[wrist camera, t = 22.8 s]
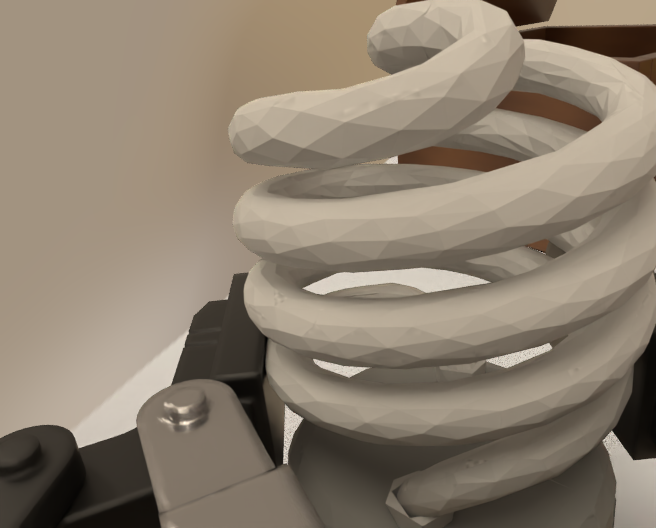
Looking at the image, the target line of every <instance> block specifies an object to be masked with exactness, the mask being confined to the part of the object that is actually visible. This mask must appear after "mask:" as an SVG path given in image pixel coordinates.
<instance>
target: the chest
mask: <svg viewBox="0 0 656 528" xmlns="http://www.w3.org/2000/svg"><path fill="white" fill-rule="evenodd" d="M519 33H520V35H521V37H522V38H523V39H538V40H545V41H549V42H554V43H559V44H564V45H568V46H573V47H577V48H580V49H583V50H587V51H590V52H593V53H597V54H600V55H604V56H607V57H610V58H613V59H615V60H617V61H619V62H620V63H622V64H624V65H626V66H628V67H630V68H632V69H634V70H636V71H637V72H639V73H641V74H643V75H645V76H646V77H647V78H648V79H649V80H650V81H651V82H652V83H653V84H654V85H655V86H656V24H653V25H596V26H594V25H592V26H543V27H538V28H531V29H526V30H520V31H519ZM496 108H498V109H503V110H508V111H513V112H519V113H524V114H529V115H534V116H539V117H544V118H547V119H550V120H553V121H557V122H560V123H563V124H566V125H570V126H573V127H576V128H578V129H581V130H584V131H587V132H588V131H590V130H591V129H593V128H595V127H596V126H598V125H599V124H601V123H602V121H601V120H600V119H599V118H598V117H597V116H595V115H593V114H591V113H589V112H587V111H585V110H583V109H581V108H579V107H577V106H575V105H572V104H569V103H567V102H564V101H561V100H558V99H555V98H552V97H549V96H546V95H543V94H540V93H531V92H521V91H510V92H509V93H508V95H507V96H506V97H505V98H504V99H503V100H502V101H501V103H500V104H499V105H498V106H497V107H496ZM519 162H521V161H518V160H515V159H512V158H508V157H503V156H499V155H494V154H489V153H484V152H479V151H470V150H462V149H453V148H445V147H436V146H431V147H427V148H423V149H420V150H416V151H412V152H409V153H405V154H402V155H398V164H417V165H433V166H445V167H453V168H462V169H470V170H477V171H482V172H490V171H493V170H497V169H500V168H503V167H506V166H510V165H513V164H516V163H519ZM654 180H655V181H656V175H655V177H654ZM549 242H550V241H549V240H547V239H543V240H540V241H537V242H534V243H531V244H528V245H526V246H529V247H532V248H534V249H537V250H540V251H543V252H546V248H547V245H548V243H549Z"/></svg>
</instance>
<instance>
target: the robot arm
mask: <svg viewBox="0 0 656 528" xmlns="http://www.w3.org/2000/svg"><path fill="white" fill-rule="evenodd" d="M565 253H566V252H565V251H563V250H562V249H560V248H559V247H557V246H556V245H554V244H553V243H551V242H549V243H548V245H547V248H546V255H547V256H549V257H552V258H554V259H555V258H557V257H559V256H561V255H563V254H565ZM653 273H654V277H655V282H656V273H655V272H653ZM248 274H249V273H240V274H234V276H233V280H232V284H231V288H230V293H229V297H228V300H220V301H211V302H208V303H207V304H206V305H205V306H204V307H203V308H202V309H201V310H200V311H199V312H198V313H197V314H195V315H194V317H193V320H192V323H191V326H190V329H189V335H187V339H186V342H185V348H183V351H182V354H181V357H180V360H179V363H178V366H177V369H176V372H175V375H174V378H173V381H172V384H171V386H169V387H167V388H165V389H163V390H161V391H159V392H158V393H156V394H155V395H153V396H152V397H151V398H149V399H148V400H147V401H146V402H145V403H144V405H143V406H142V407H141V409H140V410H139V413H138V415H137V419H136V422H137V427H136V428H135V429H133V430H131V431H128V432H126V433H124V434H121V435H119V436H116V437H113V438H110V439H107V440H104V441H100V442H97V443H94V444H91V445H88V446H85V447H82V448H79V449H78V446H77V443H76V440H75V437H74V436H73V434H72V433H71V432H70V431H69V430H68V429H66V428H64V427H60V426H55V425H40V426H33V427H29V428H25V429H22V430H18V431H15V432H13V433H11V434H8V435H6V436H4V437H2V438H0V528H326V527H325V525H324V523H323V521H322V520H321V518H320V516H319V514H318V513H317V511H316V509H315V508H314V506H313V504H312V502H311V501H310V499H309V497H308V496H307V494H306V492H305V490H304V489H303V487H302V485H301V484H300V482H299V480H298V478H297V477H296V475H295V473H294V472H293V470H292V469H291V468H290V466H288V465H287V464H283V448H284V418H285V403H284V402H283V401H282V400H281V398H280V397H279V396H278V394H277V393H276V392H275V390H274V389H273V388H272V387H271V385H270V384H269V380H268V376H267V373H266V368H265V349H266V343H267V339H268V337H266V336H265V335H264V334H263V333H262V332H261V331H260V330H259V329H258V327H257V326H256V325H255V324H254V322H253V321H252V320H251V318H250V317H249V315H248V312H247V309H246V307H245V304H244V285H245V282H246V279H247V277H248ZM566 337H568V335H566V336H563V337H561V338H558V339H556V340H554V341H551V342H549V343H550V345H551V346H552V348H554V347H555V346H556V345H558V344H559V343H560V342H561V341H563V340H564V339H565V338H566ZM612 431H613V432H614V434H615V435H616V437H617V438H618V439H619V441H620V442H621V443H622V445H623V446H624V448H625V449H626V450H627V452H628V453H629V455H630V456H631V457H632V459H633V460H641V459H650V458H656V324H655V327H654V330H653V332H652V335H651V338H650V340H649V343H648V345H647V347H646V349H645V351H644V352H643V354H642V355H641V356H640V357H639V358H638V360H637V361H636V362H635V363H634V372H633V386H632V394H631V396H630V398H629V400H628V402H627V404H626V406H625V408H624V410H623V412H622V414H621V416H620V418H619V421H618V423H617V425H616V426H615V427H614V428H613V430H612Z"/></svg>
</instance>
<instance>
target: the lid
mask: <svg viewBox="0 0 656 528" xmlns="http://www.w3.org/2000/svg"><path fill="white" fill-rule="evenodd" d="M420 1H426V0H397V2H396V5H402V4H408V3H414V2H420ZM482 1H484V2H487V3H489V4H491V5H494V6H496V7H498V8H501V9H503V10H505V11H507V13H508V14H509V16H510V18H511V19H512V21H513V23H514V25H515V26H521V25H528V24H534V23H539V22H545V21H549V19H550V16H551V14H552V11H553V9H554V6H555V4H556V2H557V0H482Z"/></svg>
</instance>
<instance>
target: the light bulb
mask: <svg viewBox="0 0 656 528" xmlns="http://www.w3.org/2000/svg"><path fill="white" fill-rule="evenodd" d="M367 51H368V54H369V56H370V58H371V60H372V62H373V64H374V65H375V66H377V67H378V68H380V69H382V70H384V71H386V72H388V73H390V74H391V75H390V76H387V77H383V78H379V79H376V80H372V81H369V82H366V83H362V84H359V85H355V86H352V87H348V88H345V89H333V90H318V91H302V92H293V93H288V94H282V95H276V96H270V97H265V98H260V99H257V100H253V101H251V102H249V103H247V104H245V105H244V106H242V107H240V108H238V110H237V111H236V113H235V115H234V117H233V119H232V121H231V123H230V125H229V127H228V133H229V139H230V142H231V145H232V148H233V151H234V153H235V154H236V155H237V156H239V157H240V158H242V159H243V160H244V161H245V162H247V163H251V164H258V165H265V166H279V167H294V168H309V170H304V171H300V172H295V173H291V174H286V175H281V176H277V177H274V178H271V179H268V180H266V181H263V182H261V183H259V184H257V185H255V186H253V187H252V188H250V189H248V190H247V191H246V192H245V193H244V194H243V195H242V197H241V198H240V200H239V202H238V203H237V205H236V206H235V208H234V216H233V224H232V225H233V227H234V230H235V233H236V235H237V238H238V240H239V241H240V242H241V243H242V244H243V245H244V246H246V248H248V249H249V250H250V251H252V252H253V253H255V254H257V255H258V256H259V257H261V258H262V259H261V260H259V261H258V262H257V264H255V265H254V267H252V268H251V270H250V272H249V274H248V277H247V279H246V282H245V285H244V304H245V307H246V309H247V312H248V315H249V317H250V318H251V320H252V321H253V322H254V324H255V325H256V326H257V327H258V329H259V330H260V331H261V332H262V333H263V334H264V335H265V336H266V337H268V339H267V343H266V349H265V368H266V373H267V376H268V380H269V384H270V385H271V387H272V388H273V389H274V390H275V392H276V393H277V394H278V396H279V397H280V398H281V400H282V401H283V402H284V403H285V404H286V405H287V406H288V408H289V409H290V410H291V411H293V412H294V413H296V414H298V415H299V416H301V417H303V418H304V419H303V420H302V422H301V423H300V425H299V427H298V428H297V430H296V431H295V433H294V435H293V438H292V442H291V445H290V448H289V451H288V466H290V468H291V469H292V470H293V472H294V473H295V475H296V477H297V478H298V480H299V482H300V484H301V485H302V487H303V489H304V490H305V492H306V494H307V496H308V497H309V499H310V501H311V502H312V504H313V506H314V508H315V509H316V511H317V513H318V514H319V516H320V518H321V520H322V521H323V523H324V525H325V527H326V528H614V517H615V505H616V498H615V493H616V479H615V475H614V472H613V468H612V464H611V461H610V457H609V454H608V451H607V450H606V448H605V446H604V444H603V442H602V440H603V439H604V438H605V437H606V436H607V435H608V434H609V433H610V432H611V431H612V430H613V428H614V427H615V426H616V425H617V423H618V421H619V418H620V416H621V414H622V412H623V410H624V408H625V406H626V404H627V402H628V400H629V398H630V396H631V394H632V386H633V372H634V363H635V362H636V361H637V360H638V358H639V357H640V356H641V355H642V354H643V352H644V351H645V349H646V347H647V345H648V343H649V340H650V338H651V335H652V332H653V330H654V327H655V324H656V282H655V277H654V273H653V271H654V270H655V268H656V181H655V180H654V177H655V175H656V86H655V85H654V84H653V83H652V82H651V81H650V80H649V79H648V78H647V77H646V76H645V75H643V74H641V73H639V72H637V71H636V70H634V69H632V68H630V67H628V66H626V65H624V64H622V63H620V62H619V61H617V60H615V59H613V58H610V57H607V56H604V55H600V54H597V53H593V52H590V51H587V50H583V49H580V48H577V47H573V46H568V45H564V44H559V43H554V42H549V41H545V40H538V39H523V38H522V37H521V35H520V33H519V31H518V30H517V28H516V26H515V25H514V23H513V21H512V19H511V18H510V16H509V14H508V13H507V11H505V10H503V9H501V8H498V7H496V6H494V5H491V4H489V3H487V2H484V1H482V0H426V1H420V2H414V3H408V4H402V5H396V6H394V7H392V8H390V9H389V10H387V11H385V12H384V13H382V14H380V15H379V16H378V17H377V19H376V21H375V22H374V24H373V26H372V28H371V29H370V31H369V33H368V35H367ZM510 91H521V92H531V93H540V94H543V95H546V96H549V97H552V98H555V99H558V100H561V101H564V102H567V103H569V104H572V105H575V106H577V107H579V108H581V109H583V110H585V111H587V112H589V113H591V114H593V115H595V116H597V117H598V118H599V119H600V120H601V121H602V123H601V124H599V125H598V126H596V127H595V128H593V129H591V130H590V131H588V132H587V131H584V130H581V129H578V128H576V127H573V126H570V125H566V124H563V123H560V122H557V121H553V120H550V119H547V118H544V117H539V116H534V115H529V114H524V113H519V112H513V111H508V110H503V109H498V108H496V107H497V106H498V105H499V104H500V103H501V101H502V100H503V99H504V98H505V97H506V96H507V95H508V93H509V92H510ZM431 146H436V147H445V148H453V149H462V150H470V151H479V152H484V153H489V154H494V155H499V156H503V157H508V158H512V159H515V160H518V161H521V162H519V163H516V164H513V165H510V166H506V167H503V168H500V169H497V170H493V171H490V172H482V171H477V170H470V169H462V168H453V167H445V166H433V165H417V164H360V163H365V162H370V161H376V160H381V159H386V158H391V157H394V156H398V155H402V154H405V153H409V152H412V151H416V150H420V149H423V148H427V147H431ZM354 164H356V165H354ZM543 239H547V240H549V241H550V242H551V243H553V244H554V245H556V246H557V247H559V248H560V249H562V250H563V251H565V252H566V253H565V254H563V255H561V256H559V257H557V258H555V259H554V258H552V257H549V256H547V255H545V254H543V253H541V252H539V251H536V250H534V249H531V248H528V247H525V245H528V244H531V243H534V242H537V241H540V240H543ZM420 267H423V268H431V269H440V270H448V271H453V272H458V273H462V274H467V275H470V276H474V277H478V278H481V279H484V280H487V281H490V282H492V283H487V284H480V285H474V286H468V287H462V288H456V289H449V290H443V291H437V292H431V293H425V292H423V291H421V290H419V289H417V288H414V287H410V286H406V285H401V284H396V283H386V284H378V285H369V286H360V287H354V288H347V289H342V290H338V291H334V292H330V293H327V294H325V295H320V294H315V293H312V292H310V291H307V290H305V289H302V288H304V287H306V286H308V285H310V284H312V283H314V282H317V281H319V280H322V279H324V278H326V277H329V276H331V275H334V274H336V273H341V272H351V273H353V272H369V271H384V270H400V269H411V268H420ZM566 335H568V337H566V338H565V339H564V340H563V341H561V342H560V343H559V344H558V345H556V346H555V347H554V348H552V349H551V350H550V351H548V352H545V353H543V354H540V355H538V356H535V357H533V358H531V359H528V360H526V361H523V362H521V363H519V364H516V365H514V366H511V367H509V368H504V367H501V366H498V365H495V364H492V363H489V362H486V360H487V359H491V358H495V357H499V356H503V355H507V354H511V353H515V352H519V351H523V350H527V349H531V348H535V347H539V346H542V345H544V344H547V343H549V342H551V341H554V340H556V339H558V338H561V337H563V336H566ZM313 359H316V360H321V361H325V362H329V363H334V364H338V365H342V366H354V367H370V368H369V369H366V370H364V371H362V372H360V373H358V374H356V375H354V376H352V377H350V378H348V377H346V376H343V375H340V374H337V373H334V372H331V371H328V370H326V369H323V368H320V367H319V366H318V365H316V364H315V363H314V361H313Z"/></svg>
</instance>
